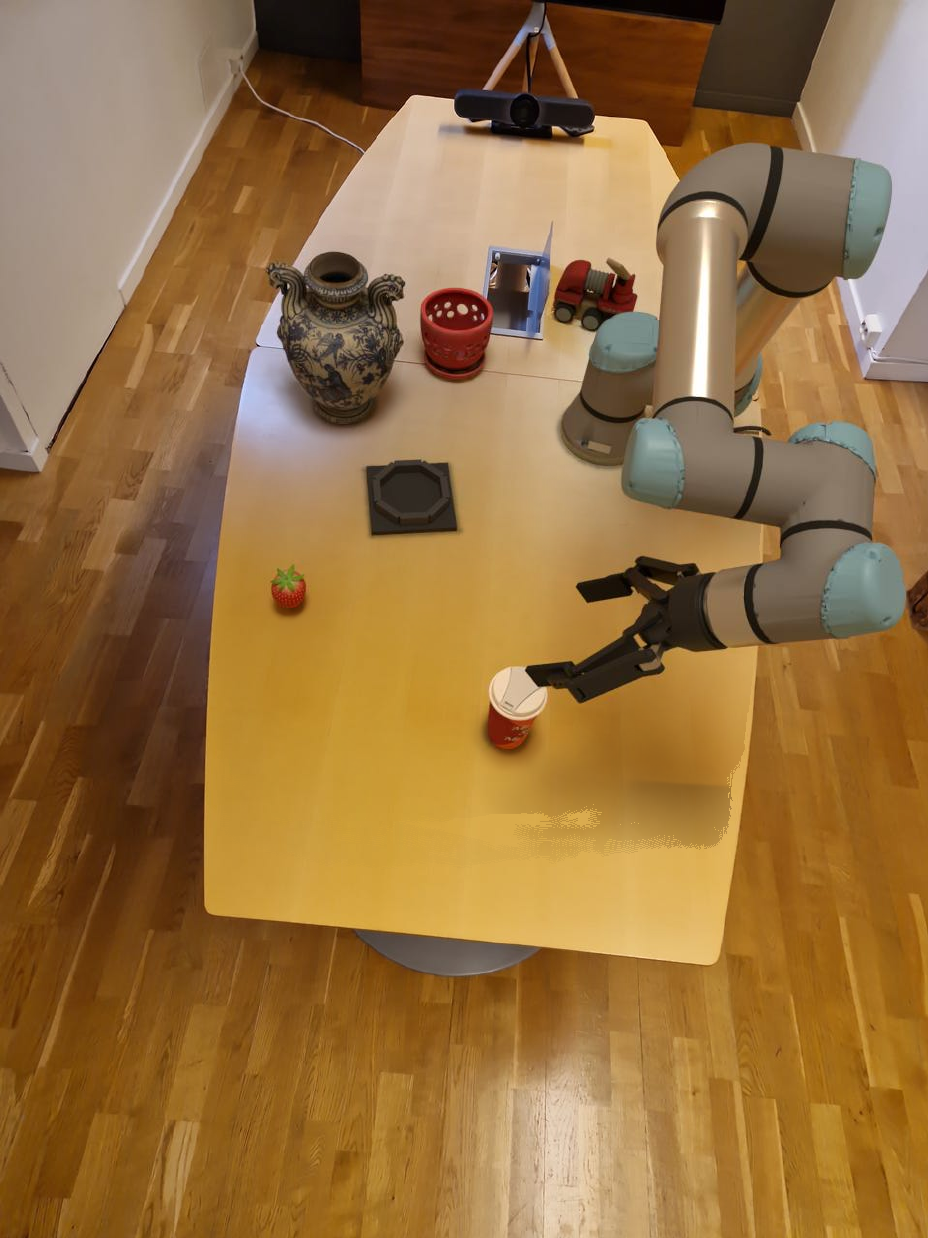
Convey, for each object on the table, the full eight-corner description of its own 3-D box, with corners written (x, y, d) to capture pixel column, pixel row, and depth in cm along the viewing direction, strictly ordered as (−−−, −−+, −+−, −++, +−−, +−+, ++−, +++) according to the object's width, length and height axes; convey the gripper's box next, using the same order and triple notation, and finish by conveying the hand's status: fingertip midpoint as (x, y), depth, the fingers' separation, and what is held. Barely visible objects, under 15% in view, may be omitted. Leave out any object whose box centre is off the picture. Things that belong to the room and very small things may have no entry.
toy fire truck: (560, 294, 167) (576, 213, 152) (632, 316, 166) (656, 236, 150) (543, 328, 162) (559, 248, 147) (618, 351, 160) (642, 272, 145)
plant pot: (500, 356, 157) (507, 303, 146) (463, 395, 150) (468, 343, 140) (443, 328, 159) (446, 274, 149) (405, 365, 153) (405, 312, 143)
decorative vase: (406, 371, 153) (409, 234, 129) (399, 445, 143) (401, 312, 119) (292, 362, 152) (273, 222, 128) (277, 436, 142) (253, 300, 118)
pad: (447, 466, 141) (448, 454, 139) (456, 530, 134) (458, 519, 132) (366, 469, 140) (365, 457, 137) (371, 535, 133) (371, 524, 130)
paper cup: (516, 766, 114) (530, 727, 102) (469, 738, 116) (478, 696, 104) (543, 724, 118) (560, 680, 106) (497, 697, 119) (509, 651, 107)
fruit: (310, 615, 124) (305, 587, 117) (275, 619, 123) (268, 591, 116) (307, 586, 127) (302, 556, 120) (273, 590, 126) (266, 560, 119)
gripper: (698, 736, 73) (528, 738, 88) (776, 553, 86) (616, 583, 102) (657, 679, 70) (489, 691, 85) (745, 499, 83) (585, 538, 99)
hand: (558, 633), depth 94 cm, fingers open, 13 cm apart
